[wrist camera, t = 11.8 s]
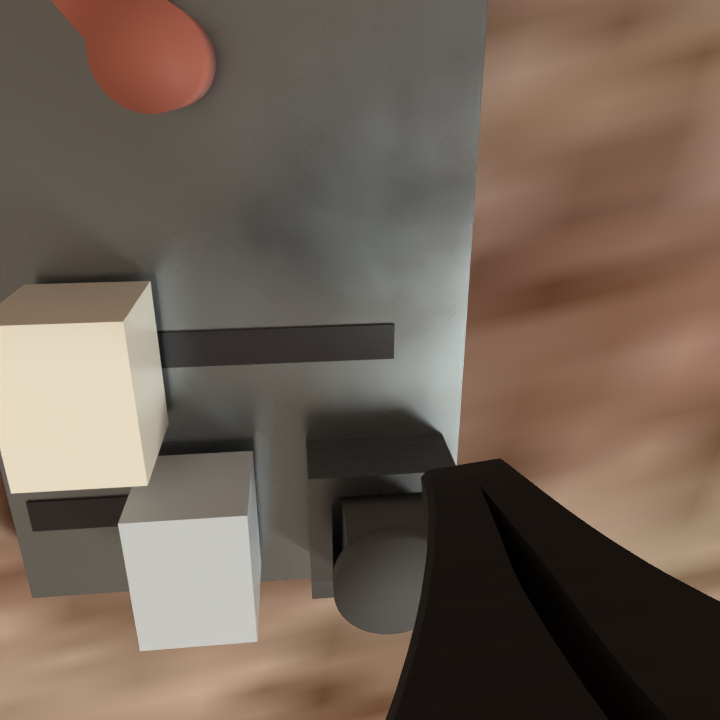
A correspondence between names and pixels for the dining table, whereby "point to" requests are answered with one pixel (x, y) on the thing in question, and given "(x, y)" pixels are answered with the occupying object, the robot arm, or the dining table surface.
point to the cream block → (80, 386)
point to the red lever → (144, 52)
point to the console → (260, 253)
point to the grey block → (194, 551)
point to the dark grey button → (381, 561)
